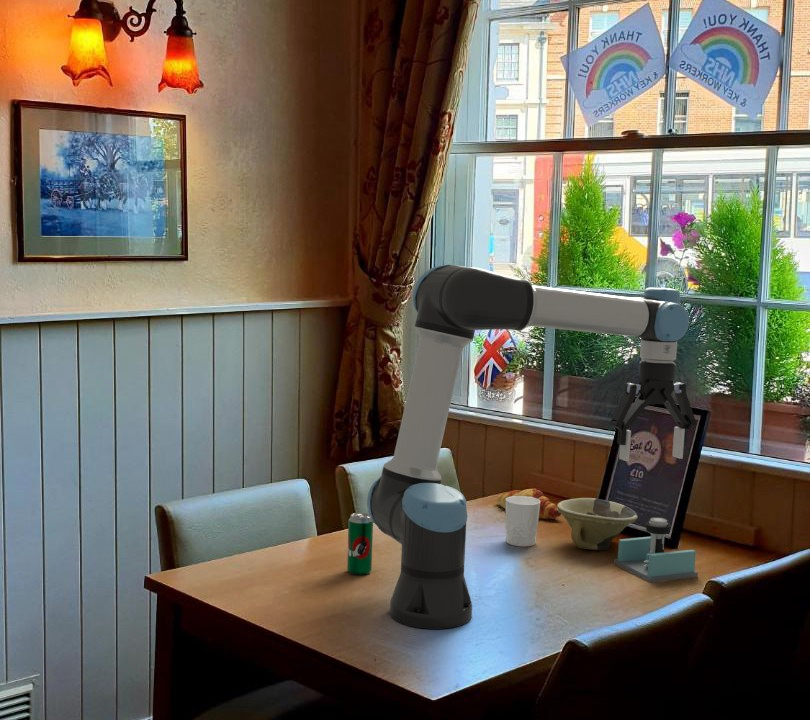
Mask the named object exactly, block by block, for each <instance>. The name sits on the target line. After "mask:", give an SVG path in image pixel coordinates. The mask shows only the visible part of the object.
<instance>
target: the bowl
mask: <svg viewBox="0 0 810 720" xmlns="http://www.w3.org/2000/svg"><path fill="white" fill-rule="evenodd" d="M556 506H557V508H558V512H559V513H561V516H562V517H564V518H565V520H566V522H567V523H568V525H569V527H570V528H571V532H570V533H571V534H570V535H571V537H570V538H571V540H572V542H573V544H574V545H575V546H576V547H578V548H579V549H586V550H591V551H597V552H598V551H607V550H608V549H609V548H610V547H611V542H612V541H614V540H615V538H617V537H618V536H619V535H620V534H621V533H622V532H623V531H624V529H625V528H626V527H628V525H630V524H633V523H634V522H635V523H636V520H637V519H638V516H639V515H638V514H637V512H636V511H635V510H633V509H632V508H630V507H628V506H626V505H624V504H621V503H618V502H615V501H610V500H605V499H600V498H594V497H593V498H592V497H579V498H570V499H565V500H562V501H560V502H558V503H557V505H556Z"/></svg>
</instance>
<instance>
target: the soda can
mask: <svg viewBox="0 0 810 720" xmlns="http://www.w3.org/2000/svg"><path fill="white" fill-rule="evenodd" d="M347 521H348V523H347V524H348V526H347V529H348V530H347V559H346V562H347V564H346V565H347V566H346V569H347V571H348V573H349V574H352V575H353V576H354V575H355V576H363V575H364V576H365V575H368V574H370V573H371V571H372V570H373V569H372V566H373V538H374V537H373V534H374V522H373V521H372V519H371V517H370V515H369V513H367V512H354V513H352V514H350V517H349V519H348V520H347Z"/></svg>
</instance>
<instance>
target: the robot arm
mask: <svg viewBox="0 0 810 720" xmlns="http://www.w3.org/2000/svg"><path fill="white" fill-rule="evenodd" d="M412 292H413V293H412V301H413V302H412V303H413V306H414V309H415V312H416V313H417V314H416V320H415V322H414V330H415V332H416V333H417V335H418V336H419V341H418V342H419V343H418V345H417V351H416V354H415V355H416V356H415V360H414V364H413V370H412V372H411V373H412V374H411V377H410V378H411V379H410V382H409V386H408V391H407V395H406V401H405V404H404V409H403V412H402V413H403V414H402V418H401V421H400V427H399V430H398V436H397V440H396V445H395V449H394V453H393V456H392V458H391V459H390V460H388V461H387V462H385V463H384V464H383V466H382V471H381V475H380V476H379V478H377V480H375V481H374V482H373V483H372V485H371V486H370V488H369V490H368V494H367V498H366V499H367V500H366V507H367V512H368V514H369V515H370V517H371V519H372V521H373V524H375V525H376V526H377V529H378V530H380V531H381V532H382V533H383V534H385V535H387V536H389V537H390V538H392V539H393V540H395V541H396V542H398V543H399V544H400V545H401V555H400V556H401V557H400V558H401V559H400V561H401V562H400V574H399V577H398V580H397V582H396V585H395V588H394V590H393V593H392V595H391V599H390V602H389V614H390V616H391V618H392V619H394V620H395V621H397V622H398V623H400V624H403V625H406V626H410V627H413V628H419V629H428V630H429V629H430V630H431V629H432V630H437V629H438V630H439V629H441V630H442V629H451V628H452V629H453V628H456V627H460V626H463V625H465V624H467V623H468V622H470V621H471V619H472V616H473V604H472V599H471V596H470V593H469V589H468V585H467V582H466V578H465V557H466V556H465V555H466V540H467V539H466V538H467V537H466V536H467V521H468V511H467V510H468V509H467V499H466V498H465V496H464V494H463V493H462V492H461V491H459V490H457V489H456V488H455V487H452V486H448V485H444V484H443V483H442V480H443V479H442V476H441V474H440V472H439V470H438V468H437V466H438V461H439V456H440V452H441V447H442V444H443V443H442V442H443V439H444V434H445V429H446V425H447V421H448V416H449V412H450V407H451V403H452V399H453V395H454V391H455V386H456V382H457V377H458V373H459V372H458V371H459V368H460V365H461V364H460V363H461V359H462V355H463V350H464V348H465V347H466V346H468V345H469V344H470V343H472V342H473V341H474V337H475V333H476V331H484V330H485V331H487V330H488V331H489V330H492V331H493V330H508V331H509V330H510V331H523V330H525V329H526V328H527V327H533V328H534V327H536V328H547V329H557V330H565V331H573V332H574V331H575V332H582V333H583V332H585V333H586V332H587V333H594V334H603V335H613V336H623V337H625V336H626V337H633V338H640V347H639V348H640V349H639V350H640V351H639V357H640V358H641V359H642V360H640V361H639V364H638V365H639V368H638V378H639V383H638V384H635V383H633V382H632V383H631V382H627V383H626V384H625V388H624V393H623V395H622V397H621V399H620V401H619V404H618V406H617V407H616V410H615V411H614V413H613V416H612V417H611V420H610V422H609V425H610V426H611V427H614V428H616V429H617V441H616V442H617V444H618V445H619V452H618V453H619V455H618V456H619V457H618V459H619V460H621V461H625V462H630V455H631V453H630V452H631V440H632V439H631V438H632V437H631V436H632V430H630V429H629V428H630V427H631V426H632V424H633V423H634V422H635V421H636V420H637V418H638V417H639V415H640V414H641V413H642V412H643V411H644V409H645V408H646V407H648V406H649V405H654V406H655V405H664V407H665V408H666V409H667V411H668V413H669V414H670V416H671V417H672V419H673V420H674V421H675V423H676V424H677V426H674V428H673V438H672V439H673V441H672V457H674V458H677V459H682V460H683V458H684V447H685V446H684V445H685V443H687V440H688V439H687V438H688V430H690V429H691V428H692V426H696V423H697V420H696V417H695V415H694V412H693V410H692V409H693V408H692V406H691V404H690V400H689V398H688V395H687V384H686V383H683V382H679V381H676V382H674V379H675V378H676V367H677V364H676V363H675V362H674V361H676V360H677V350H678V341H679V340H680V339H681V338H683V337H684V336H685V334H686V333H687V331H688V328H689V322H690V317H689V313H688V311H687V310H686V308H685V307H684V306H682V305H681V294H680V291H679V290H677V289H676V288H675V289H674V288H669V287H667V288H666V287H646V288H645V289H644V294H643V296H642V297H641V296H640V297H636V296H633V297H632V296H631V297H630V296H620V295H612V294H605V293H604V294H603V293H596V292H587V291H581V290H572V289H564V288H556V287H546V286H539V285H532V283H531V281H530V280H529V279H526V278H520V277H519V278H518V277H514V276H510V275H509V276H508V275H505V274H500V273H497V272H493V271H492V270H491V271H490V270H487V269H483V268H480V267H473V266H472V267H471V266H463V265H456V264H451V263H450V264H449V263H448V264H443V265H437V266H433V267H431V268H430V269H428V270H426V271H425V272H424V273H423V274H421V276H420V277H419V278H418V280H417V281H416V283H415V285H414V288H413V291H412ZM673 392H674V395H675V398H676V400H677V403H678V406H679V407H678V406H677V404H676V401H675V399H674V398H673V396H672V394H673ZM637 394H638V395H637ZM636 395H637V397H636Z"/></svg>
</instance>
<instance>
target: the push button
mask: <svg viewBox="0 0 810 720" xmlns="http://www.w3.org/2000/svg"><path fill="white" fill-rule="evenodd" d="M645 526H646V527H645V530H646V532H648V533H649V534H650V536H651V543H650V548H649V554H654V553H664V552H665V549H663V548H665V546H664V545H665V536H666V535H667V534H669V533H670V532H671V528H672V525H671V524H670V523H669V522H668V520H667V519H666V518H664V517H651V518H650V519H649V521H646V522H645ZM649 554H647V555H646V561H644V562H646V565H643V566H645V567H647V566H648V561H649Z"/></svg>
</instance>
